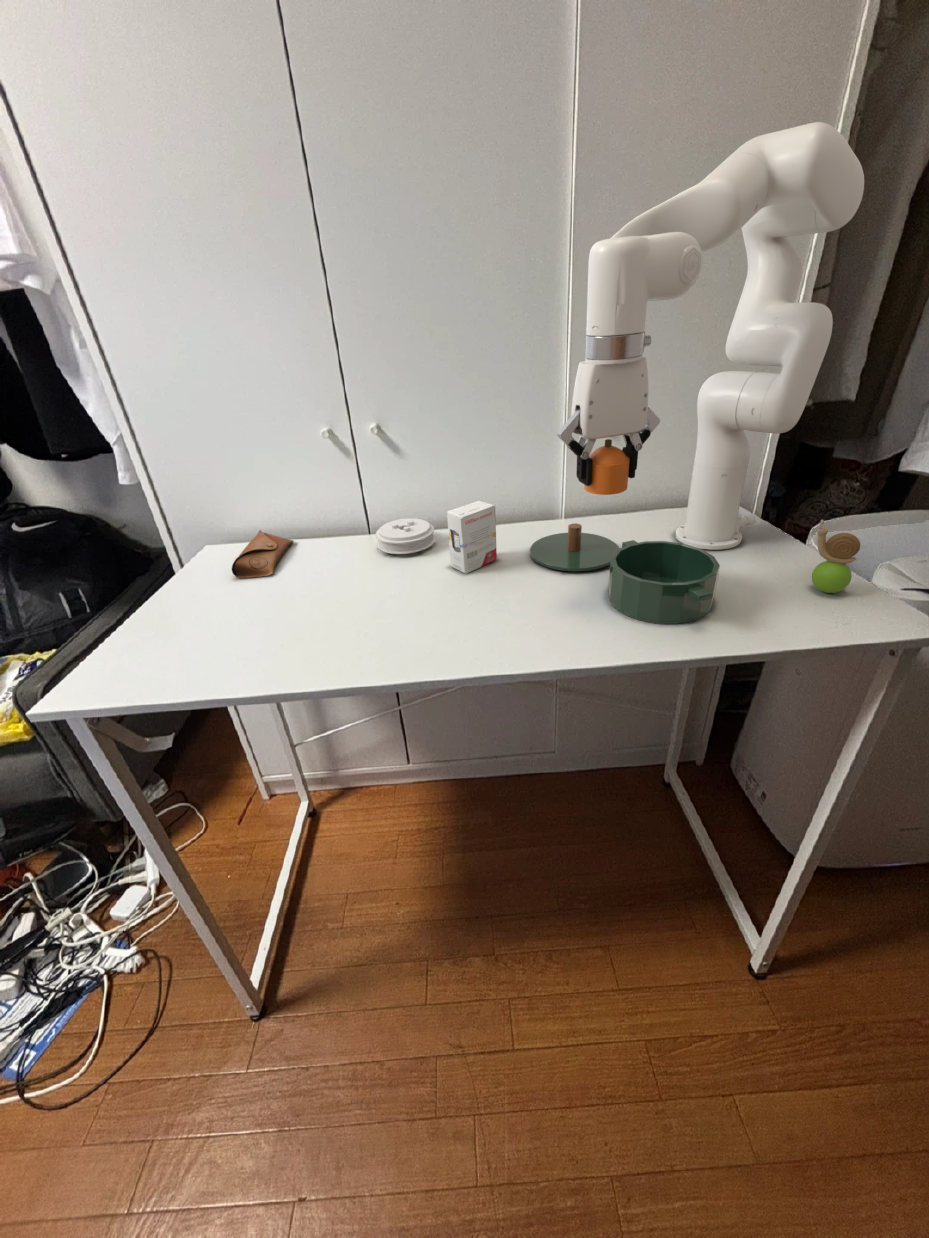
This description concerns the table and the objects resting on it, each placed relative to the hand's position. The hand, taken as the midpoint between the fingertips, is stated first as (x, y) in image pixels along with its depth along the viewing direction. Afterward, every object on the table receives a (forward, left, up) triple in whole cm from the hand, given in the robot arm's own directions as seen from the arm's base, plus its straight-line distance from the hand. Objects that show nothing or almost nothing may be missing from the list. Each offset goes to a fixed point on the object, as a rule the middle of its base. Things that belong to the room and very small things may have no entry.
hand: (606, 478), depth 82 cm
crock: (-10, +3, -21) cm, 24 cm away
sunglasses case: (+56, -44, -21) cm, 75 cm away
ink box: (+15, -23, -21) cm, 35 cm away
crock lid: (-4, -19, -21) cm, 28 cm away
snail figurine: (-36, +11, -21) cm, 43 cm away
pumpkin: (0, 0, -1) cm, 1 cm away
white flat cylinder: (+26, -38, -21) cm, 51 cm away
